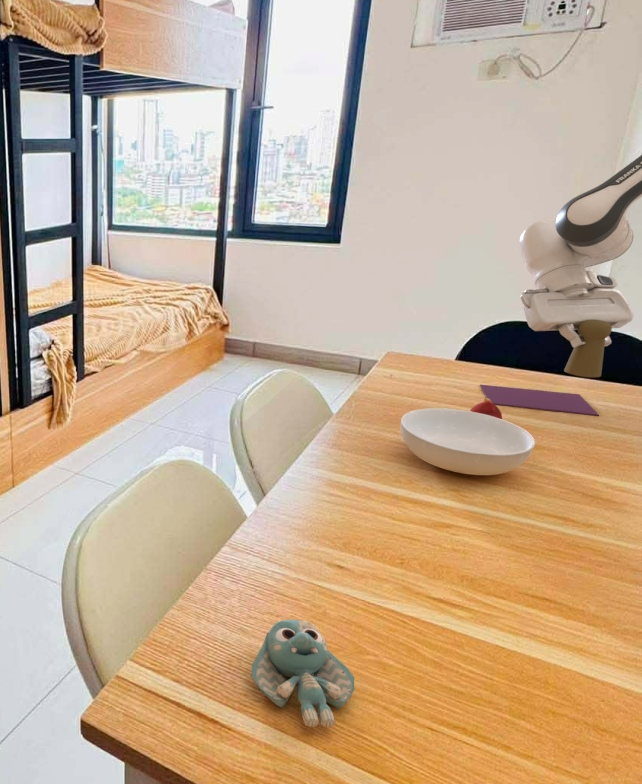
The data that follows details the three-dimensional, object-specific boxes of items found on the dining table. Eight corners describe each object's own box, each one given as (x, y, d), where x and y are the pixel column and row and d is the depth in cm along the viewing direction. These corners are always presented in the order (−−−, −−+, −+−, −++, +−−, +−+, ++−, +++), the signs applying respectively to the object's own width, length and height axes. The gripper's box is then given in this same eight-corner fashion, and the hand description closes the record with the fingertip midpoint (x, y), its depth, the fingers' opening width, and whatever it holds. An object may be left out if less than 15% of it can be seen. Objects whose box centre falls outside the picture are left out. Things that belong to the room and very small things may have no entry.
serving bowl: (370, 453, 121) (376, 420, 118) (438, 432, 130) (445, 401, 127) (481, 500, 103) (490, 463, 101) (551, 472, 112) (561, 437, 110)
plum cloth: (578, 395, 148) (579, 394, 148) (598, 415, 136) (599, 414, 136) (479, 385, 156) (479, 384, 156) (490, 404, 144) (490, 402, 144)
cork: (568, 366, 133) (582, 315, 129) (604, 372, 128) (619, 320, 125) (560, 372, 129) (573, 320, 126) (597, 379, 125) (612, 325, 121)
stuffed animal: (271, 698, 59) (244, 597, 69) (260, 741, 63) (236, 640, 73) (387, 701, 59) (342, 599, 69) (370, 744, 62) (330, 641, 73)
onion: (496, 432, 129) (505, 396, 126) (498, 443, 124) (507, 405, 121) (463, 427, 132) (471, 391, 129) (464, 437, 127) (472, 400, 124)
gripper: (528, 281, 129) (555, 339, 123) (622, 278, 130) (653, 335, 124) (507, 298, 134) (532, 355, 129) (597, 295, 136) (626, 351, 130)
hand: (592, 345), depth 126 cm, fingers closed on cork, 4 cm apart
